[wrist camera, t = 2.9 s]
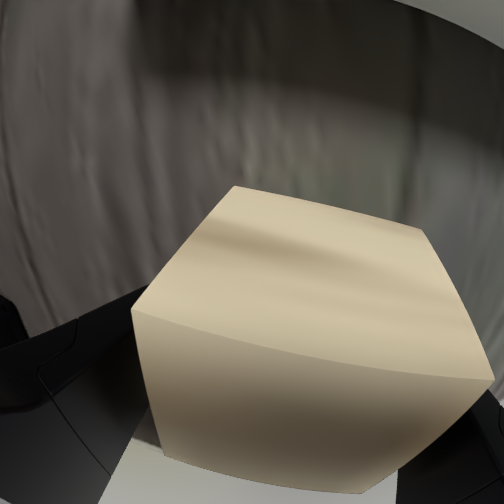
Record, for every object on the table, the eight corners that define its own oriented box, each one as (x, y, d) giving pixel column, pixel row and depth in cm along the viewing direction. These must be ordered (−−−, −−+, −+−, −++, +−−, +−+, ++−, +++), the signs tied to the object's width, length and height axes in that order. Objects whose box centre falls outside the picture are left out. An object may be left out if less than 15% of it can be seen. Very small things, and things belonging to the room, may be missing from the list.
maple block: (361, 357, 10) (361, 493, 6) (219, 327, 10) (164, 455, 6) (420, 228, 7) (495, 380, 3) (234, 184, 8) (131, 308, 4)
